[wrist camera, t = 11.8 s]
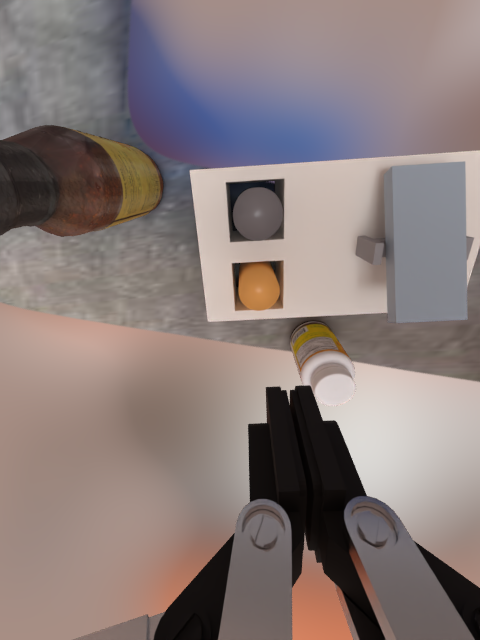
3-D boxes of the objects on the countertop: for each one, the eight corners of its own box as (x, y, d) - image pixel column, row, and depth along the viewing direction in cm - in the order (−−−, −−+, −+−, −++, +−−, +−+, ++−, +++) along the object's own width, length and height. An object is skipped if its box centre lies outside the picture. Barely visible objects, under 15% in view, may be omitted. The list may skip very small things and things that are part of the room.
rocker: (445, 176, 21) (469, 161, 19) (448, 318, 22) (471, 319, 20) (372, 181, 22) (387, 166, 19) (376, 321, 22) (391, 323, 20)
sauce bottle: (134, 132, 26) (-102, 7, 8) (178, 191, 28) (67, 196, 10) (88, 177, 28) (-194, 156, 10) (132, 230, 30) (-32, 292, 12)
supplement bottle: (329, 356, 37) (359, 412, 27) (288, 357, 37) (303, 413, 28) (335, 318, 34) (369, 366, 25) (290, 319, 34) (308, 367, 25)
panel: (446, 158, 27) (559, 140, 17) (417, 285, 32) (490, 325, 23) (201, 174, 28) (180, 166, 18) (214, 296, 33) (203, 339, 24)
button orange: (271, 251, 30) (280, 270, 23) (271, 283, 31) (279, 309, 25) (238, 253, 30) (237, 272, 23) (240, 285, 32) (239, 311, 25)
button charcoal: (272, 186, 26) (283, 185, 19) (272, 226, 27) (282, 239, 20) (233, 188, 26) (231, 188, 19) (236, 229, 27) (234, 242, 21)
